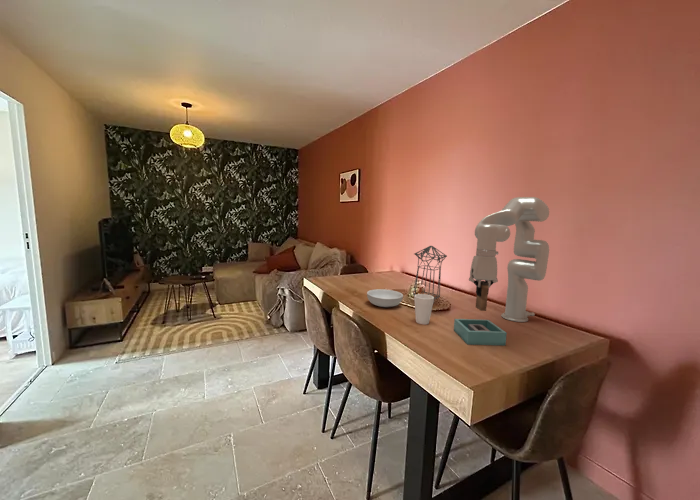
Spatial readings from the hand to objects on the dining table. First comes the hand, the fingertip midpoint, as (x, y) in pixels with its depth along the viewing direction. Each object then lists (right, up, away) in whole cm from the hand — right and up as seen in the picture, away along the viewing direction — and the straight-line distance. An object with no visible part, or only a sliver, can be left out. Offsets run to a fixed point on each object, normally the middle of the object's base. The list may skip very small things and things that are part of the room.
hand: (481, 295), depth 136 cm
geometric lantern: (-10, -13, +55) cm, 57 cm away
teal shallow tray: (-1, -19, +2) cm, 19 cm away
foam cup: (-21, -16, +19) cm, 33 cm away
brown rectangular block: (0, -6, +1) cm, 6 cm away
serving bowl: (-37, -13, +47) cm, 61 cm away
